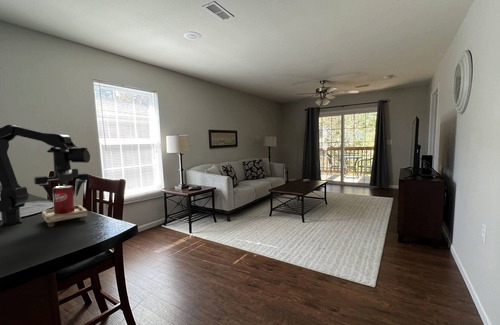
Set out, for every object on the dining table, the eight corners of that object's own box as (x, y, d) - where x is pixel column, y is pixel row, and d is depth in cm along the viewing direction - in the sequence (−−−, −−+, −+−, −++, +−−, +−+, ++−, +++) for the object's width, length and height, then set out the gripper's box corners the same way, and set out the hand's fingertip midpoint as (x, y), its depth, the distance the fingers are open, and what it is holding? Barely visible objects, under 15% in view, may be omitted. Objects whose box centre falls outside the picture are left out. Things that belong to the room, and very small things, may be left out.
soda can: (63, 216, 100) (61, 188, 99) (49, 214, 102) (48, 187, 101) (78, 211, 107) (77, 185, 106) (66, 210, 109) (64, 185, 108)
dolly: (42, 221, 104) (41, 210, 104) (80, 214, 115) (79, 204, 114) (47, 228, 95) (46, 217, 95) (87, 220, 105) (87, 210, 105)
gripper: (35, 165, 91) (38, 204, 92) (92, 162, 104) (93, 196, 106) (32, 163, 98) (34, 199, 99) (85, 161, 112) (86, 193, 113)
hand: (63, 197), depth 104 cm, fingers open, 9 cm apart
